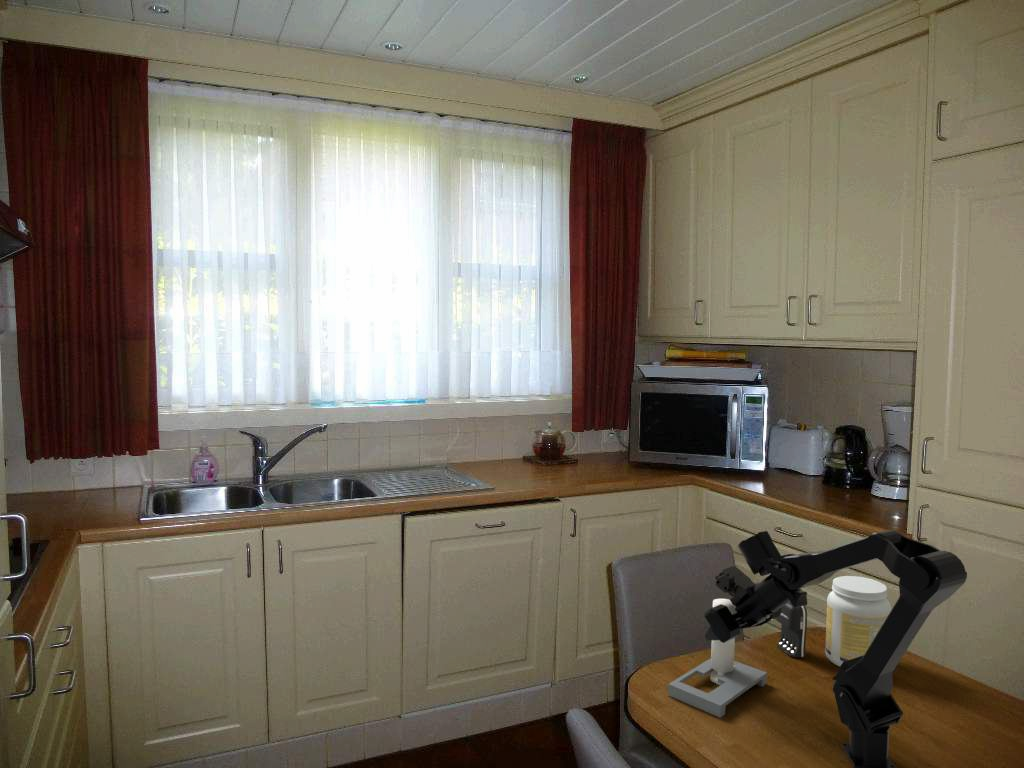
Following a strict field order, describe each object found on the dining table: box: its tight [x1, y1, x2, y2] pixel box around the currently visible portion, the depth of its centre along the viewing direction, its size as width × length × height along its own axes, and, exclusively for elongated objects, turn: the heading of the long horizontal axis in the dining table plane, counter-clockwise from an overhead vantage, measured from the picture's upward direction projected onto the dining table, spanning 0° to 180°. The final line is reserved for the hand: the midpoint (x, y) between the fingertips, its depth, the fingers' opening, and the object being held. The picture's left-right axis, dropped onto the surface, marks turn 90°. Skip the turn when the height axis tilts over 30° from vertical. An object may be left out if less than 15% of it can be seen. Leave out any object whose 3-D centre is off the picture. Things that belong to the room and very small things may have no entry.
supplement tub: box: [824, 575, 892, 668], centre depth 155 cm, size 12×12×17 cm
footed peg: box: [709, 598, 737, 686], centre depth 147 cm, size 4×4×16 cm
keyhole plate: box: [667, 657, 768, 719], centre depth 144 cm, size 18×11×2 cm, turn 135°
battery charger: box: [775, 602, 808, 658], centre depth 160 cm, size 7×4×11 cm, turn 13°
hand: (717, 633), depth 148 cm, fingers open, 7 cm apart
